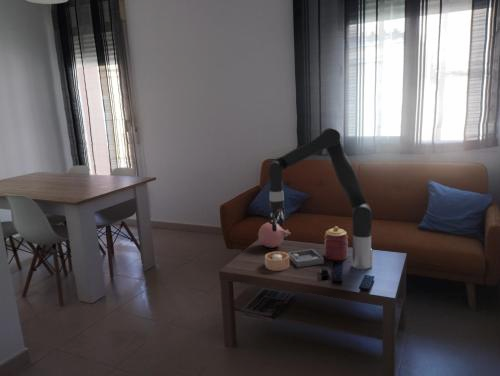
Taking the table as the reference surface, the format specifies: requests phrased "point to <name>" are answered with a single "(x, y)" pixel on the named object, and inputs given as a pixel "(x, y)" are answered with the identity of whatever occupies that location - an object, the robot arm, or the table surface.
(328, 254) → the canister
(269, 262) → the terracotta bowl
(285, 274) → the table surface
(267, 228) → the balloon
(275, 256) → the pale stone
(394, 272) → the table surface
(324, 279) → the black bracket
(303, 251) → the parts tray
